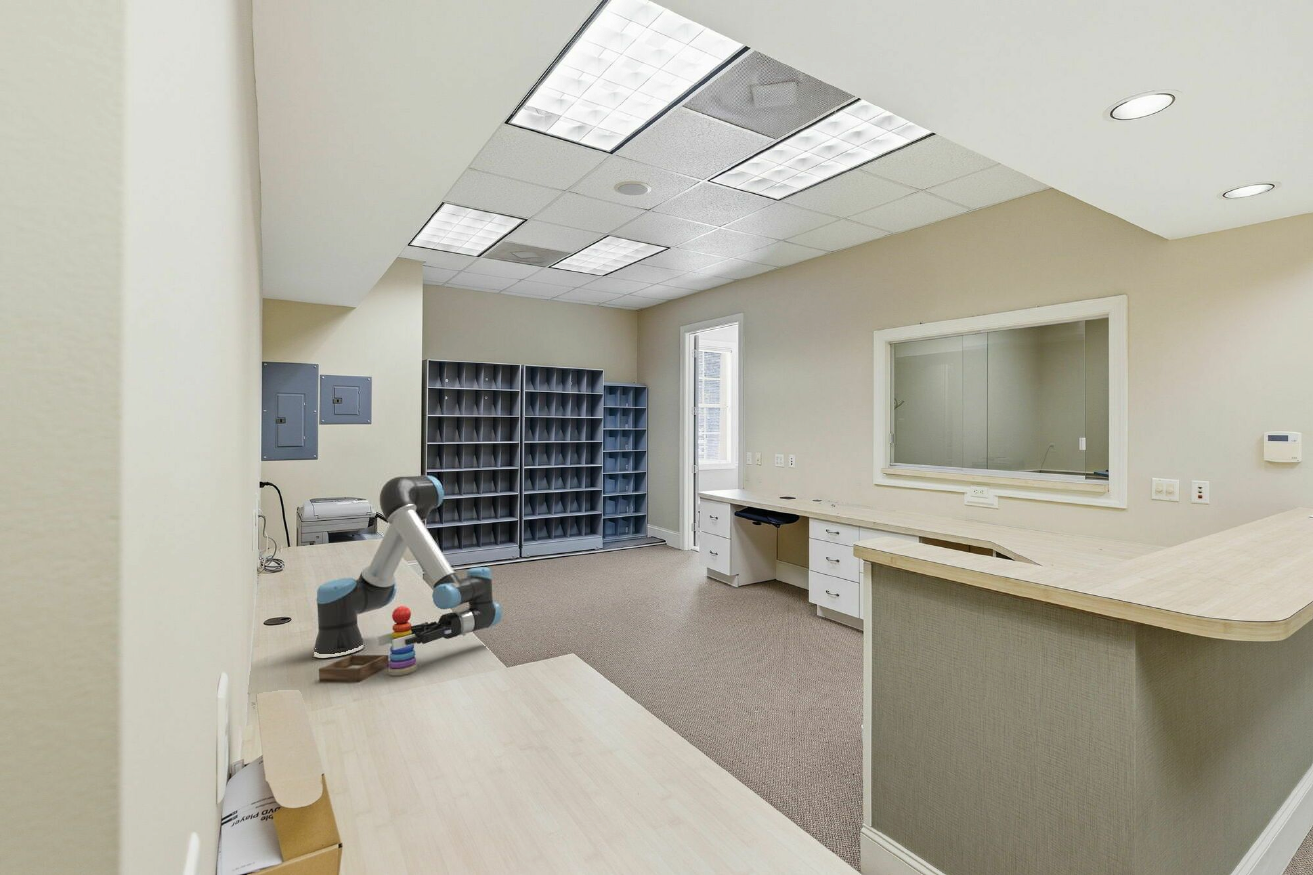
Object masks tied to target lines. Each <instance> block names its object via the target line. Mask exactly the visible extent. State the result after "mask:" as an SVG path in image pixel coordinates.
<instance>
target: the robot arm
mask: <svg viewBox="0 0 1313 875" xmlns="http://www.w3.org/2000/svg"><path fill="white" fill-rule="evenodd" d="M444 496H445V492H444V490H443V486H442V484H441V482H440V480H438V478H437V477H435V476H433V475H425V474H421V475H414V476H411V475H410V476H409V475H408V476H395V477H393V478H391V479H390V480H388V481H386V483H385V484H384V485H383V486H382V489H381V490H380V494H379V506H380V510H381V512H382V514H383V516H384V518H385V520H386V522H387V523H388V524H389V525H388V527H387V530H386V532H385V534H384V536H383V537H382V540H381V542H380V544H379V546H378V547H377V550H376V552H375V554H374V556H373V558H372V560H371V562H370V565H368V566H366V567H364V568H363V569H362V571H361V573H360V574H359V577H358V578H356V579H355V578H354V577H343V578H339V579H333V580H331V581H328V582H325V583H323V584H321V585H319V586H318V589H317V590H316V603H317V604H316V605H317V608H316V609H317V625H318V632H317V635H316V639H315V643H314V644H315V645H314V647H313V650H314V652H317V653H319V654H335V653H341V652H346V651H348V650H352V649H354V648H358V647H359V646H361V645H363V643H364V644H365V640H364V638H363V637H362V633H361V630H360V628H359V626H358V625H359V624H358V615H361V614H365V613H368V612H371V611H375V610H379V609H382V608H383V607H386V606H388V605H389V604H391V603H392V601H393V600H394V599H395V596H396V595H397V588H396V587H397V583H396V577H395V575H394V574H395V572H396V570H397V568H398V567H399V565H400V562H401V560H402V559H403V557H404V555H405V553H406V550H407V548H408V549H409V551H410V553H411V554H412V556H413V557H414V558H415V561H416V562H417V564H418V565H419V567H420V569H421V570H422V571H423V573H424V575H425V576H426V578H427V579H428V581H429V582H430V584H431V586H432V587H433V591H432V594H431V595H432V596H431V597H432V602H433V604H434V606H435V607H437V608H438V609H440V610H449V609H454V608H456V607H458V606H461V605H464V604H467V603H468V604H469V605H468V606H469V607H468V608H462V609H459V610H455V611H452V612H448V613H444V614H442V615H441V616H440V617H439V619H438V622H437V621H432V622H430V623H429V622H427V621H426V622H423V623H420V624H414V625H411V628H410V630H411V631H412V635H409V636H405V637H401V638H398V639H394V640H392V639H393V638H392V636H391V635H392V633H393V632H394V631H392V632H389V633H386V634H381V635H377V636H376V645H377V647H381V646H382V647H383V646H386V645H388V644H389V645H390V644H391V640H392V644H391V646H392V647H393V650H396V649H400V648H403V647H407V646H410V645H414V646H415V645H416V644H418V645H419V644H420V645H421V644H423V645H425V644H428V643H430V642H433V641H437V640H440V639H442V638H444V639H445V640H449V639H453V638H456V637H458V636H463V637H465V636H467V634H469V633H472V632H476V631H481V630H483V629H489V628H490V627H493V626H495V625H497V624H499V623H500V622H501V620H502V619H501V618H502V615H503V614H502V610H501V606H500V604H499V603H498V602H496V601H494V600H493V581H492V580H493V579H492V572H491V569H490V568H489V567H485V566H483V567H482V566H481V567H474V568H469V569H468V570H467V571H466V577H464V578H459V576H458V574H456V572H455V570H454V569H453V568H452V566H451V564H450V562H449V561H448V559H447V558H446V556H445V555H444V553H443V551H442V550H441V549H440V547H439V545H438V544H437V542H436V540H434V538H433V536H432V534H431V533H430V531H429V530H428V528H427V527H426V525H425V524H424V522H423V521H425V520H426V519H427V518H428V517H429V515H430V512H431V511H432V510H434V509H437V508H438V507H440V505H442V504H443V500H444ZM315 648H316V649H315ZM313 650H312V651H313Z"/></svg>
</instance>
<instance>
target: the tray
mask: <svg viewBox="0 0 1313 875" xmlns="http://www.w3.org/2000/svg"><path fill="white" fill-rule="evenodd" d="M389 661H390V658H389V654H350V655H347V656H344V658H340V659H339V660H336V661H334V662H332V663H330V664H327V665H325V666H322V667H320V668H318V680H319V682H322V683H323V682H324V683H325V682H330V683H333V682H334V683H335V682H337V683H338V682H339V683H360V682H361V681H363V680H365V679H368V678H369V677H371V676H373V675H375V674H377V673H379V672H381V671H383V670H385V669H388V668H389V666H388V662H389Z"/></svg>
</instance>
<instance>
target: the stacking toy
mask: <svg viewBox="0 0 1313 875" xmlns="http://www.w3.org/2000/svg"><path fill="white" fill-rule="evenodd" d="M411 616H412V611H411V609H410V608H409V607H407V606H404V605H402V606H401V605H400V606H397V607H396V608H394V610H393V611H392V615H391V619H392V620H393V622H394V624H393V625H392V632H393V633H392V632H391V633H392V635H391V636H392V638H393V639H392V640H394V639H398V638H401V637H405V636H409V635H412V631H411V630H410V628H411V626H412V624H411V622H410V621H409V620H410V619H411ZM392 640H391V643H390V644H391V646H390V647H389V651H390V654H388V656H389V662H388V666H389V667H388V668H387V674H388V675H389V676H394V677H396V676H397V677H399V676H405V675H409V674H412V673H414V672H416V671H417V669H418V663H417V662H416V661H417V658H416V650H415V649H414V648H415V644H414V645H410V646H407V647H403V648H400V649H396V650H393V647H392Z"/></svg>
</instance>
